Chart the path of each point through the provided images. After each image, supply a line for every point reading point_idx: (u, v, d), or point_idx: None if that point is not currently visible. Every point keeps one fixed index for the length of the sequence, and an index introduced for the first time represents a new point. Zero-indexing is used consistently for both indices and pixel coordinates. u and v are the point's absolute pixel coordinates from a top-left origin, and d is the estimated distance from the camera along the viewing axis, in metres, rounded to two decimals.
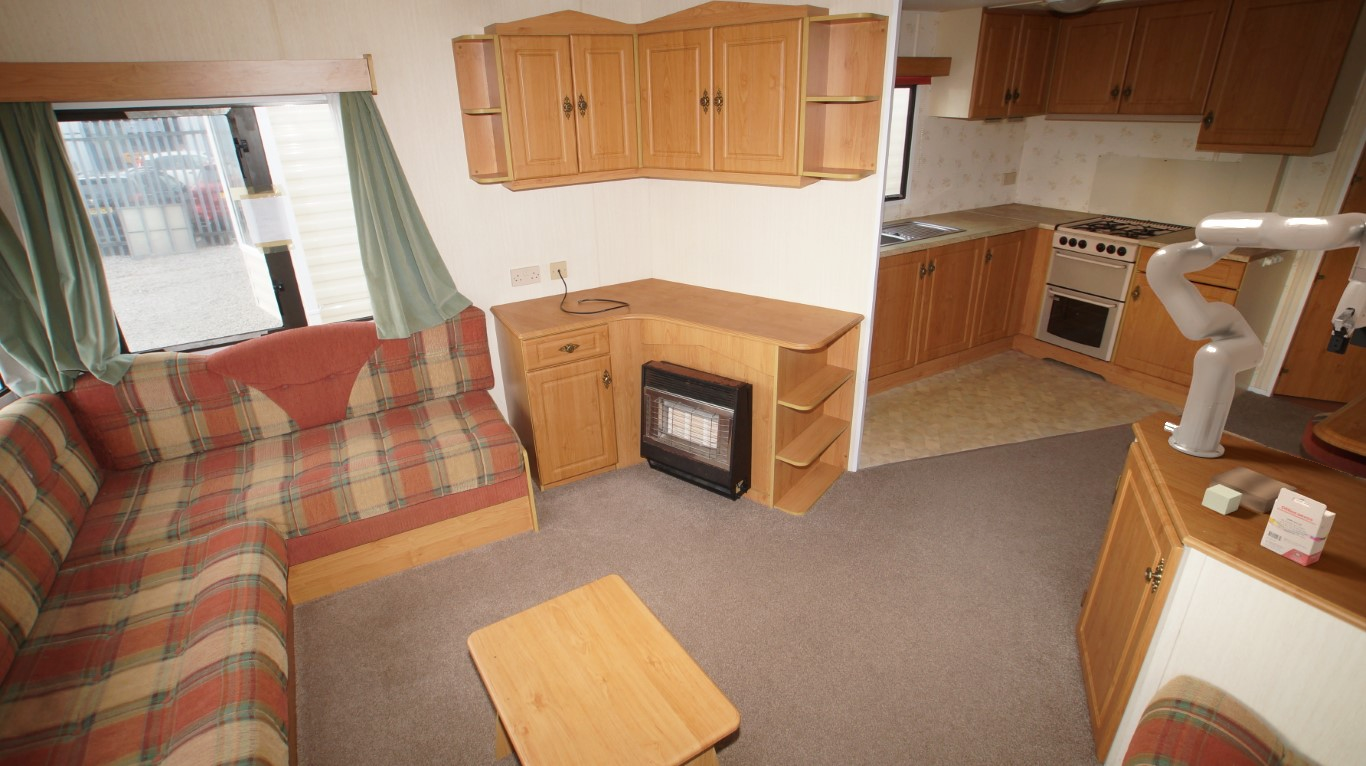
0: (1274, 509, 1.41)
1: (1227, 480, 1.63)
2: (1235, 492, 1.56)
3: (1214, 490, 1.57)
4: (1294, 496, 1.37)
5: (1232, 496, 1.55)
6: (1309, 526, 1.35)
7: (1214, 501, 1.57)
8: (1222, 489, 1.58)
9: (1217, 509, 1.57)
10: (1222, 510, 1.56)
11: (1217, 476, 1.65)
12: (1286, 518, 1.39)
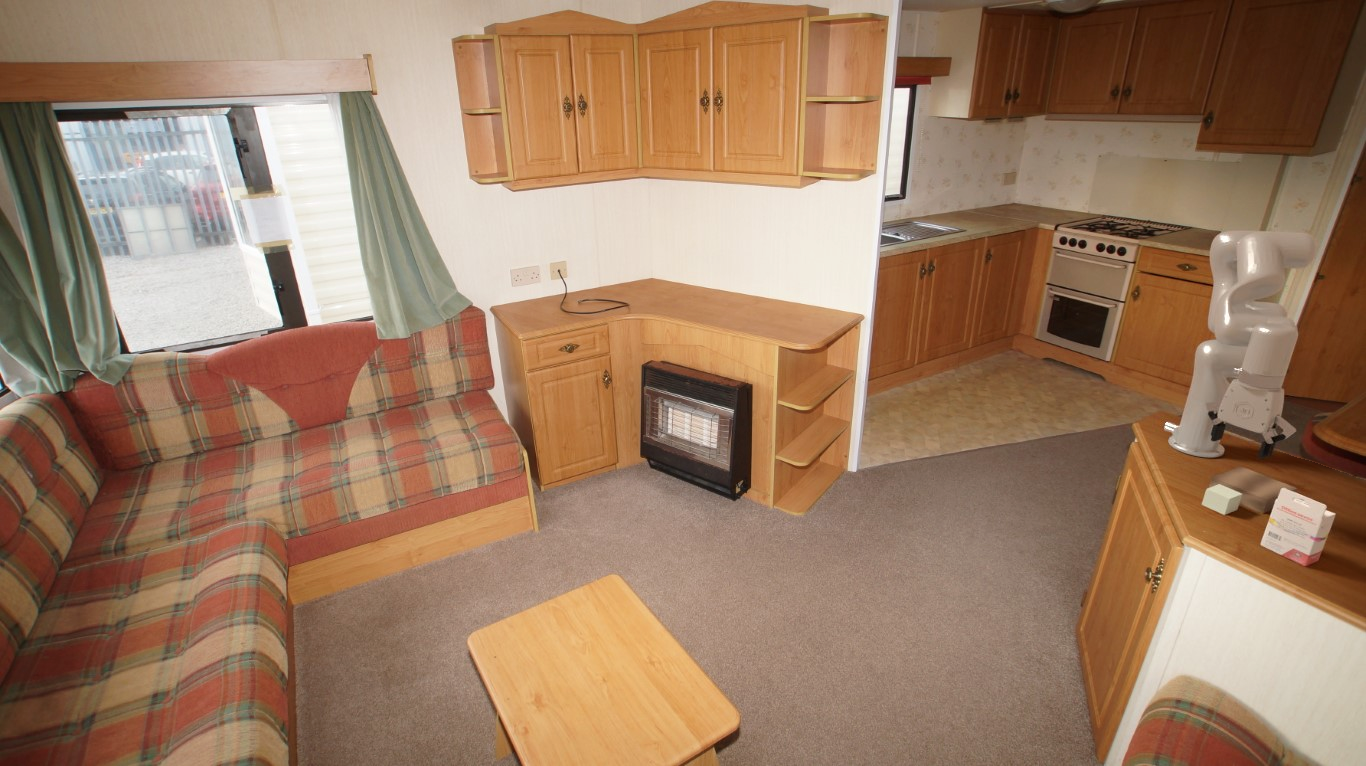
0: (1274, 509, 1.41)
1: (1227, 480, 1.63)
2: (1235, 492, 1.56)
3: (1214, 491, 1.57)
4: (1294, 496, 1.37)
5: (1232, 496, 1.55)
6: (1309, 526, 1.35)
7: (1214, 501, 1.57)
8: (1222, 489, 1.58)
9: (1217, 509, 1.57)
10: (1222, 510, 1.56)
11: (1217, 476, 1.65)
12: (1286, 518, 1.39)
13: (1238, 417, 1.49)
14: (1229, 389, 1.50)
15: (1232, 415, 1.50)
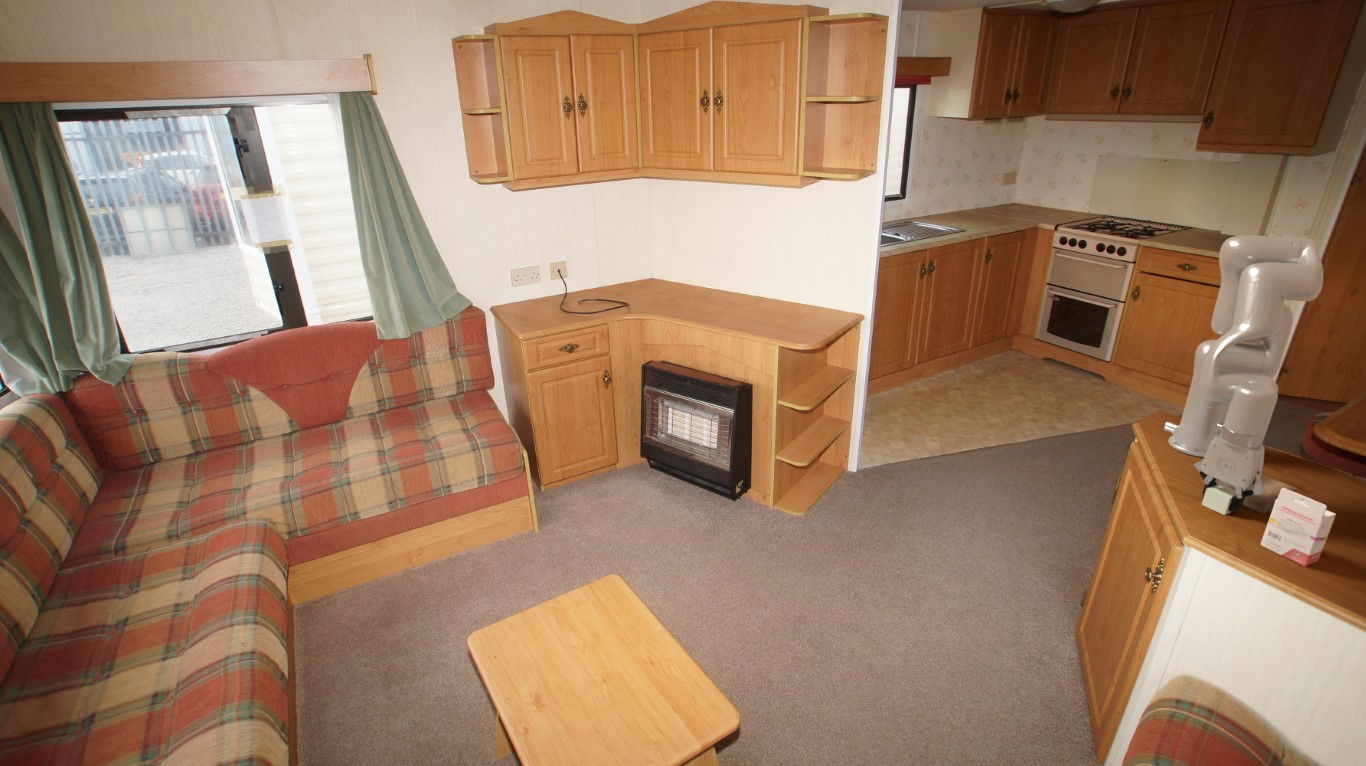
0: (1274, 509, 1.41)
1: None
2: (1235, 492, 1.56)
3: (1214, 490, 1.57)
4: (1294, 496, 1.37)
5: (1232, 496, 1.55)
6: (1309, 526, 1.35)
7: (1214, 501, 1.57)
8: (1222, 489, 1.58)
9: (1217, 509, 1.57)
10: (1222, 510, 1.56)
11: None
12: (1286, 518, 1.39)
13: (1220, 472, 1.54)
14: (1212, 444, 1.55)
15: (1215, 469, 1.55)
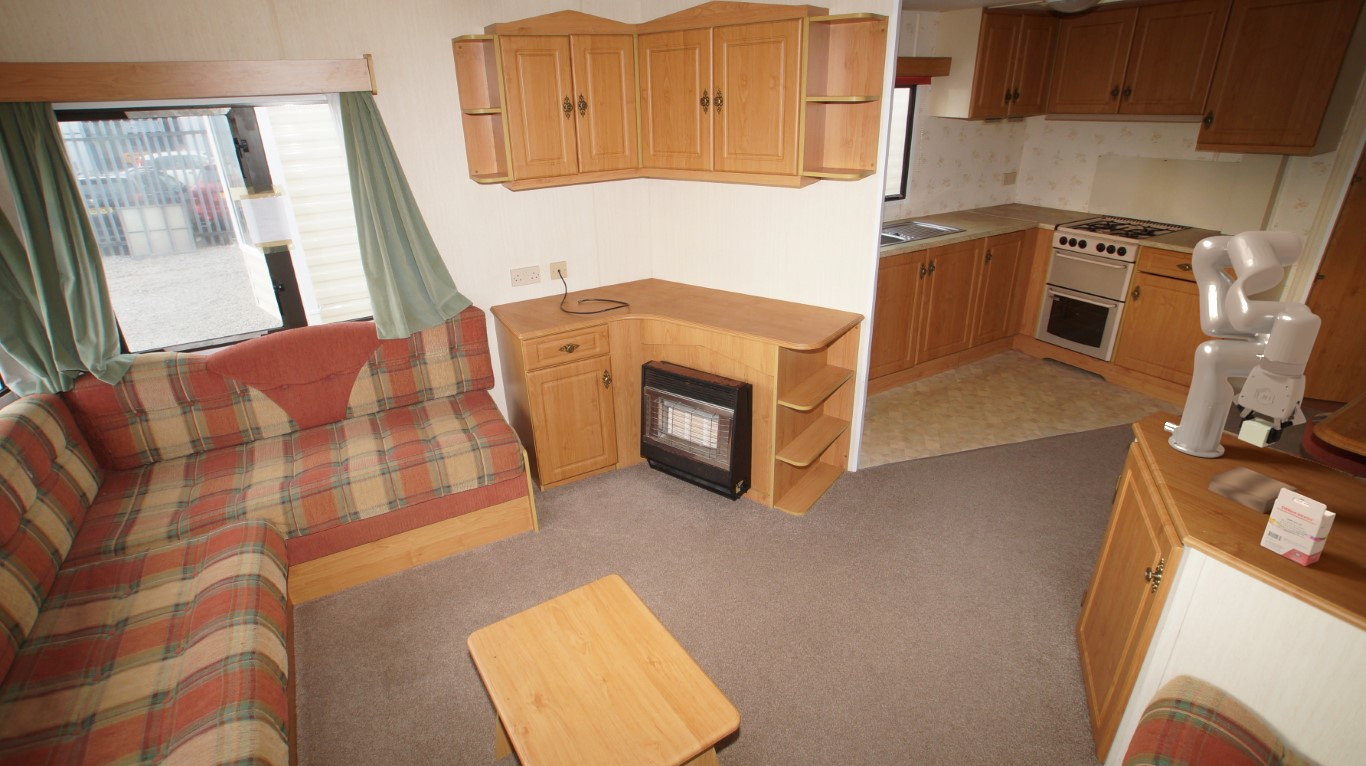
0: (1274, 509, 1.41)
1: (1227, 480, 1.63)
2: (1273, 424, 1.53)
3: (1252, 423, 1.54)
4: (1294, 496, 1.37)
5: (1270, 428, 1.52)
6: (1309, 526, 1.35)
7: (1251, 433, 1.54)
8: (1260, 422, 1.55)
9: (1254, 442, 1.54)
10: (1259, 442, 1.53)
11: (1217, 476, 1.65)
12: (1286, 518, 1.39)
13: (1259, 403, 1.51)
14: (1250, 375, 1.52)
15: (1253, 401, 1.52)
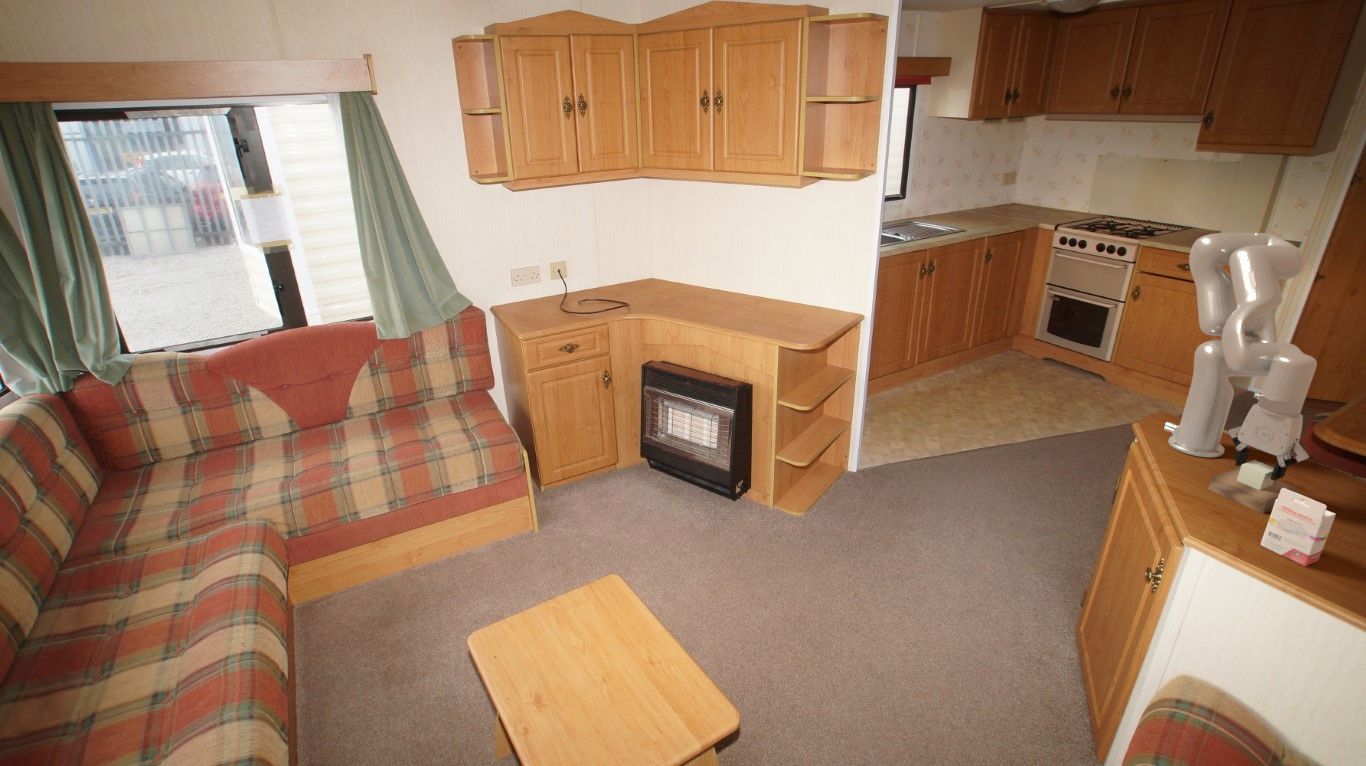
0: (1274, 509, 1.41)
1: (1226, 480, 1.63)
2: (1270, 467, 1.59)
3: (1250, 466, 1.60)
4: (1294, 496, 1.37)
5: (1267, 471, 1.58)
6: (1309, 526, 1.35)
7: (1249, 476, 1.60)
8: (1257, 465, 1.60)
9: (1252, 484, 1.59)
10: (1258, 485, 1.59)
11: (1217, 476, 1.65)
12: (1286, 518, 1.39)
13: (1258, 440, 1.56)
14: (1249, 414, 1.57)
15: (1252, 438, 1.58)
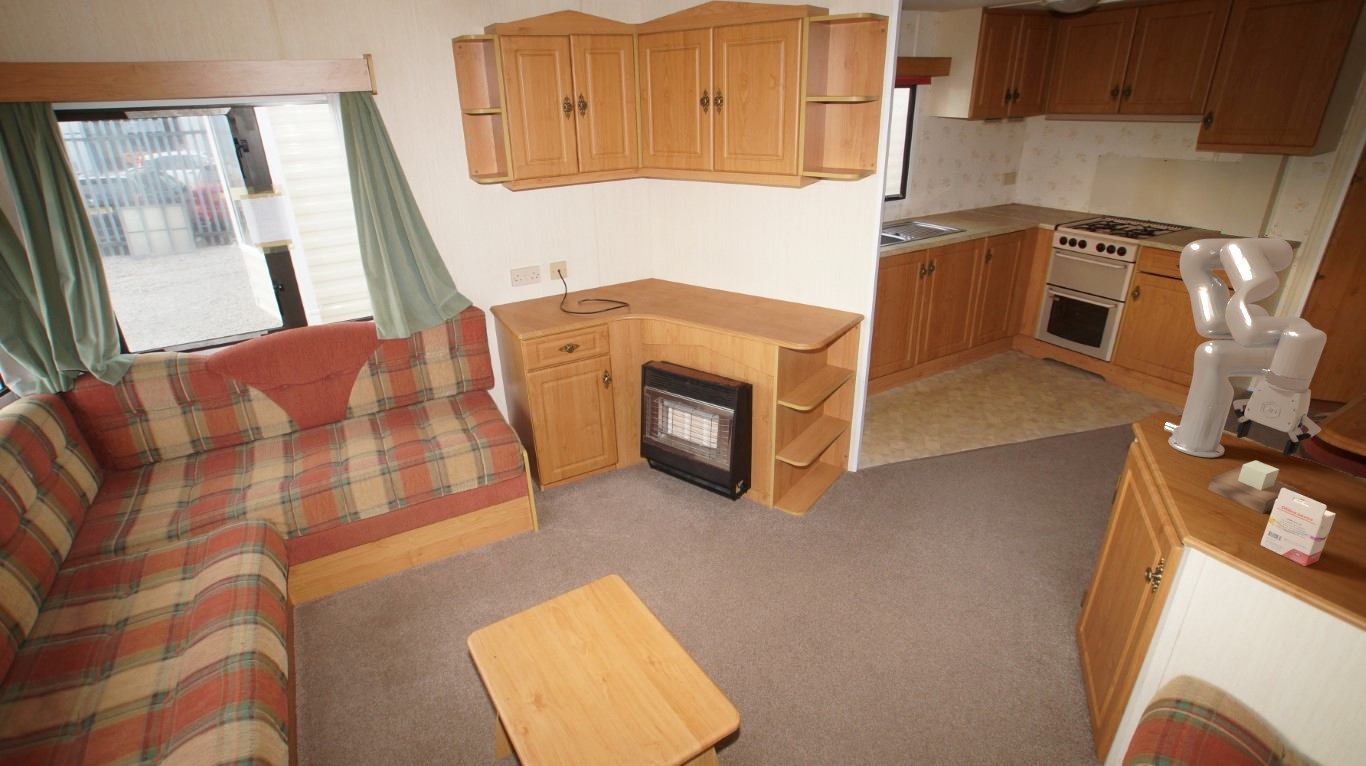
0: (1274, 509, 1.41)
1: (1226, 480, 1.63)
2: (1272, 468, 1.59)
3: (1251, 466, 1.60)
4: (1294, 496, 1.37)
5: (1268, 471, 1.58)
6: (1309, 526, 1.35)
7: (1251, 476, 1.60)
8: (1259, 465, 1.60)
9: (1254, 484, 1.59)
10: (1259, 485, 1.58)
11: (1217, 476, 1.65)
12: (1286, 518, 1.39)
13: (1265, 416, 1.55)
14: (1257, 389, 1.55)
15: (1259, 414, 1.56)
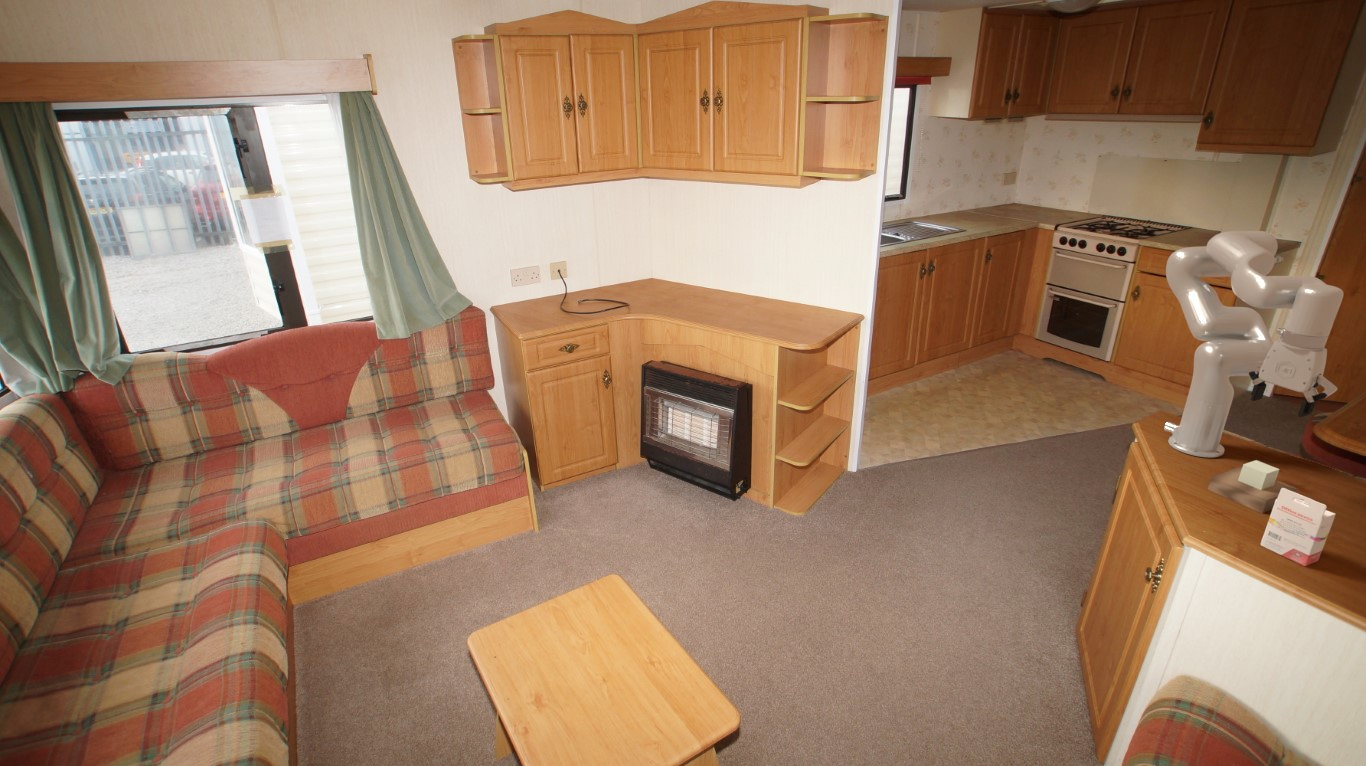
0: (1274, 509, 1.41)
1: (1226, 480, 1.63)
2: (1272, 467, 1.59)
3: (1251, 466, 1.60)
4: (1294, 496, 1.37)
5: (1269, 471, 1.58)
6: (1309, 526, 1.35)
7: (1251, 476, 1.60)
8: (1259, 465, 1.60)
9: (1254, 484, 1.59)
10: (1259, 485, 1.59)
11: (1217, 476, 1.65)
12: (1286, 518, 1.39)
13: (1280, 377, 1.52)
14: (1271, 349, 1.53)
15: (1274, 375, 1.53)
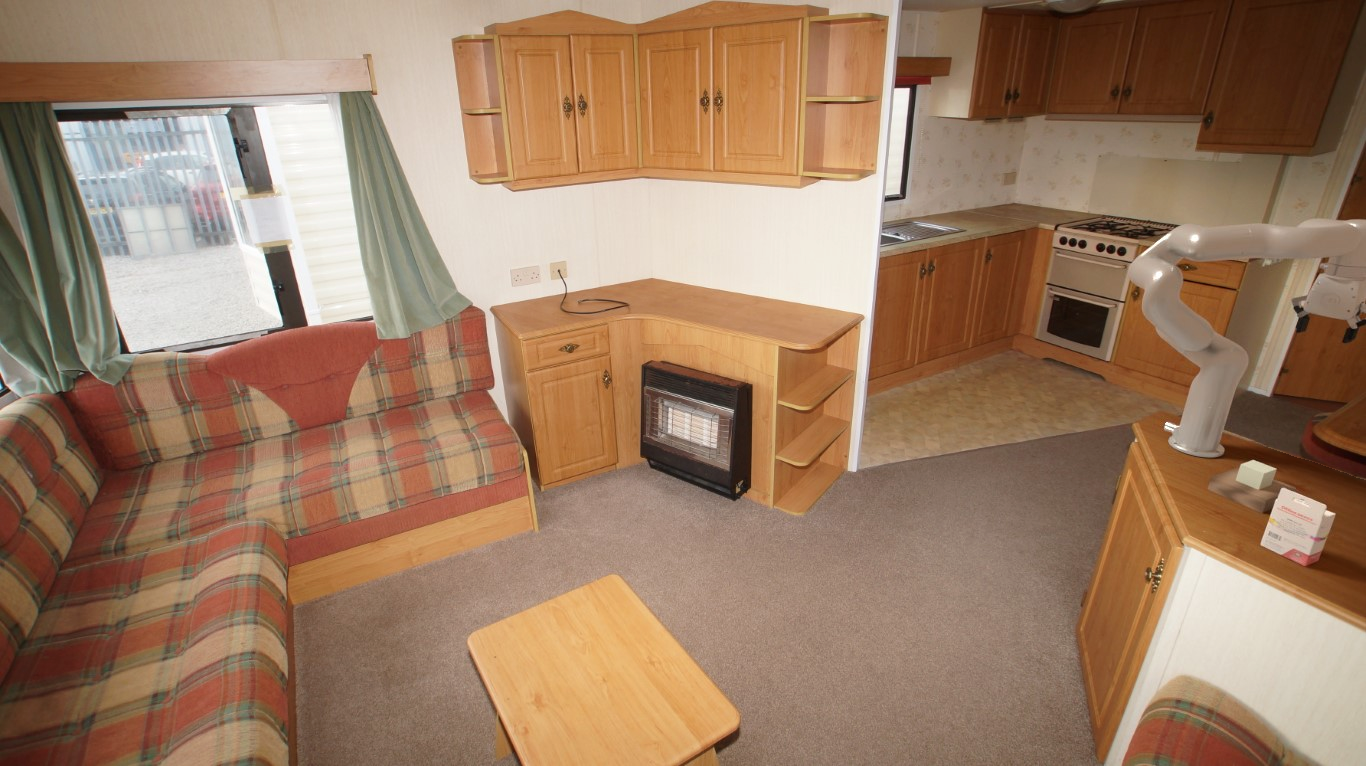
0: (1274, 509, 1.41)
1: (1226, 480, 1.63)
2: (1269, 467, 1.59)
3: (1249, 466, 1.60)
4: (1294, 496, 1.37)
5: (1266, 471, 1.58)
6: (1309, 526, 1.35)
7: (1248, 476, 1.60)
8: (1256, 464, 1.61)
9: (1251, 484, 1.60)
10: (1256, 485, 1.59)
11: (1216, 476, 1.65)
12: (1286, 518, 1.39)
13: (1324, 307, 1.66)
14: (1316, 282, 1.67)
15: (1318, 306, 1.67)
